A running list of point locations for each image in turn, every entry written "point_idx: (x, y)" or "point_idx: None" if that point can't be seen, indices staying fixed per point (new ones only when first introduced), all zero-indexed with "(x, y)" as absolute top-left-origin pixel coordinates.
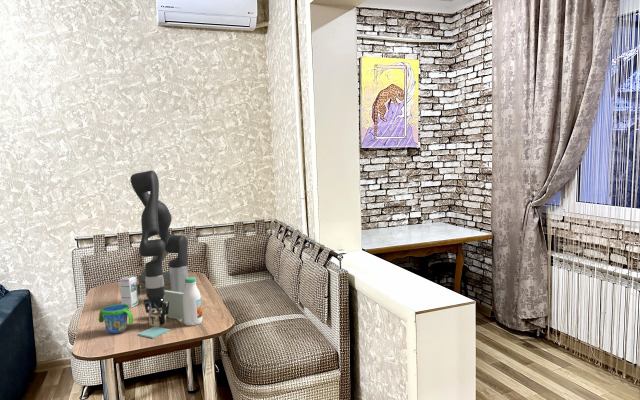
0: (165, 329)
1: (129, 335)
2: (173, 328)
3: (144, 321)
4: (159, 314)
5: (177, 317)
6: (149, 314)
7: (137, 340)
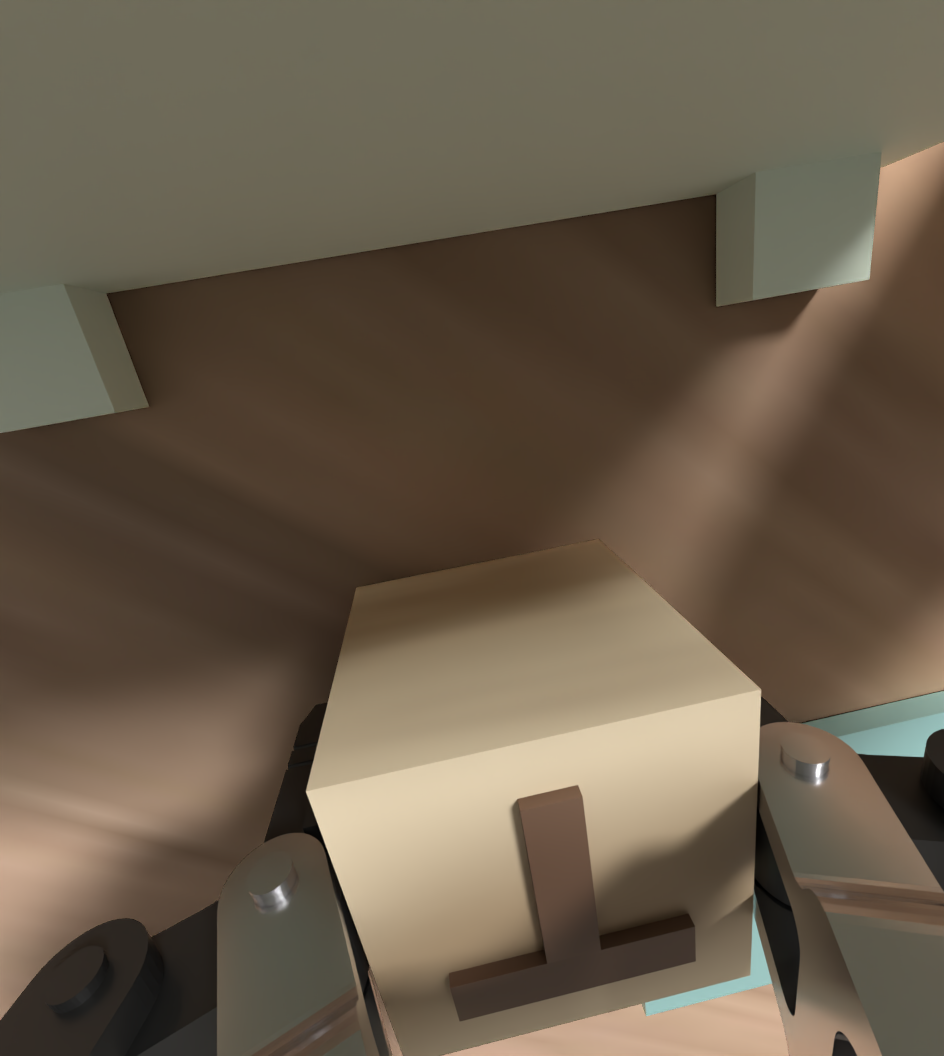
0: (914, 748)
1: (550, 1045)
2: (940, 604)
3: (90, 751)
4: (794, 925)
5: (636, 195)
6: (449, 1050)
7: (779, 1026)
